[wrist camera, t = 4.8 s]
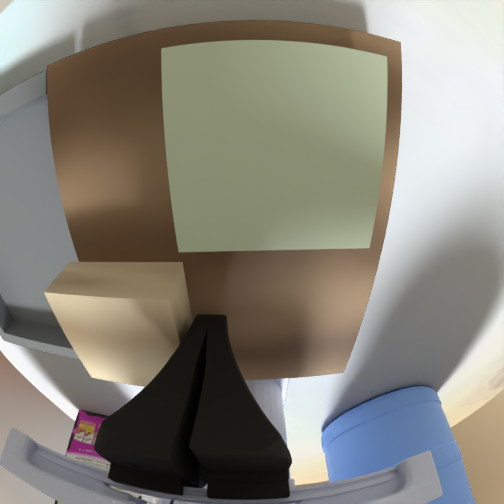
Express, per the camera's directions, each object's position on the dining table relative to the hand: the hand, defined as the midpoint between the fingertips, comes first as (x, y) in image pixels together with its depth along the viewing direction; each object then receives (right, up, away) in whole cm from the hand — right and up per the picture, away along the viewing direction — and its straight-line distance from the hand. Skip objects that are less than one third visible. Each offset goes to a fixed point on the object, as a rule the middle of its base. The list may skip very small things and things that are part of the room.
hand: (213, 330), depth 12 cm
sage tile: (+2, +7, -3) cm, 8 cm away
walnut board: (0, +5, +2) cm, 5 cm away
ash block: (-4, +1, +1) cm, 4 cm away
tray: (-14, +5, +2) cm, 15 cm away
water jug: (+18, -17, +15) cm, 29 cm away
